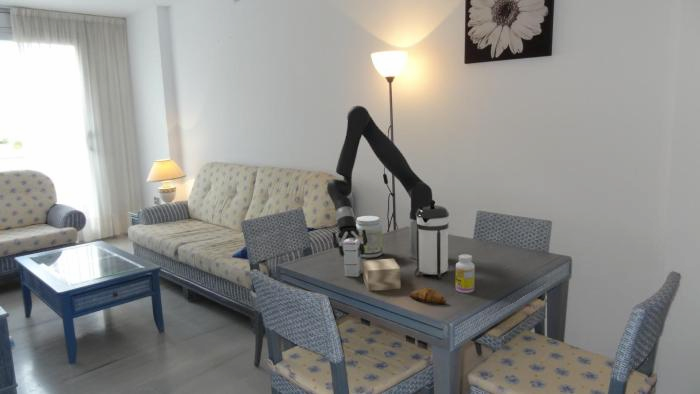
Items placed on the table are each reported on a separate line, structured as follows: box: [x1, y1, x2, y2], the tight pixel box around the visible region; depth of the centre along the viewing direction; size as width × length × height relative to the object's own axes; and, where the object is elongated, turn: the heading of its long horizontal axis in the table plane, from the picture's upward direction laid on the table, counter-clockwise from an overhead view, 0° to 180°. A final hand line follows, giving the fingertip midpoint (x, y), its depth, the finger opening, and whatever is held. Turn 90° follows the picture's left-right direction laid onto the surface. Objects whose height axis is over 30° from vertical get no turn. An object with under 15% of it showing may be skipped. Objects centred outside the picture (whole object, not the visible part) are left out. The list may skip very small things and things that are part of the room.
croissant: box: [409, 287, 447, 305], centre depth 174 cm, size 14×7×5 cm, turn 55°
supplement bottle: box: [455, 253, 476, 294], centre depth 181 cm, size 7×7×13 cm
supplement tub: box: [355, 215, 383, 259], centre depth 227 cm, size 12×12×17 cm
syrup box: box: [343, 238, 362, 278], centre depth 202 cm, size 6×6×14 cm
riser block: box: [362, 258, 401, 292], centre depth 190 cm, size 12×12×8 cm
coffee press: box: [413, 199, 451, 281], centre depth 199 cm, size 17×16×30 cm
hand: (352, 254), depth 200 cm, fingers closed on syrup box, 7 cm apart
